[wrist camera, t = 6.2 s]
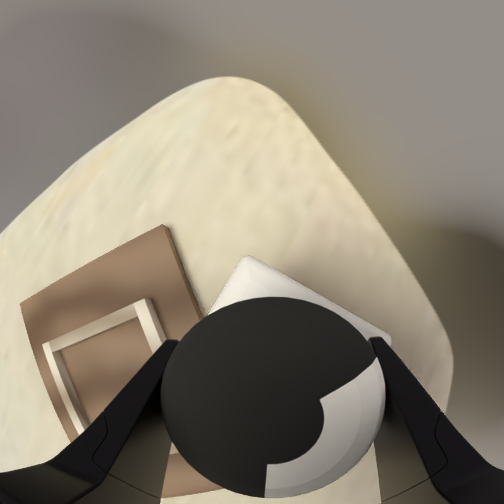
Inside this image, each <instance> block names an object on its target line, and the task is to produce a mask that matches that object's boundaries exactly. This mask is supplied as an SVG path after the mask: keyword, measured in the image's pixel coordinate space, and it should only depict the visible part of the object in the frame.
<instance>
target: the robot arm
mask: <svg viewBox="0 0 504 504" xmlns="http://www.w3.org/2000/svg"><path fill="white" fill-rule="evenodd" d="M179 342H180V341H179V340H178V339H167V340H165V341H164V342H163V344H162V345H161V346H160V347H159V348H158V349H157V350H156V351H155V353H154V354H153V355H152V356H151V357H150V358H149V359H148V360H147V362H146V363H145V364H144V365H143V366H142V367H141V368H140V369H139V371H138V372H137V373H136V374H135V375H134V376H133V377H132V378H131V380H130V381H129V382H128V383H127V384H126V385H125V386H124V387H123V389H122V390H121V391H120V392H119V393H118V394H117V395H116V396H115V398H114V399H113V400H112V401H111V402H110V403H109V404H108V405H107V407H106V408H105V409H104V411H102V412H101V413H100V414H99V416H98V417H97V418H96V419H95V420H94V421H93V422H92V423H91V424H90V425H89V426H88V427H87V428H86V429H85V430H84V431H83V432H82V433H81V434H80V435H79V436H78V437H77V438H76V439H75V440H74V441H72V442H71V443H70V444H69V445H68V446H67V447H66V448H65V449H63V450H62V451H61V452H60V453H59V454H58V455H57V456H55V457H54V458H52V459H51V460H49V461H47V462H45V463H42V464H38V465H34V466H30V467H26V468H22V469H18V470H13V471H8V472H2V473H0V504H160V501H161V500H160V499H161V495H162V490H163V484H164V479H165V474H166V469H167V464H168V459H169V454H170V449H171V445H172V441H171V439H170V436H169V434H168V432H167V430H166V427H165V423H164V420H163V416H162V409H161V385H162V379H163V374H164V371H165V368H166V365H167V363H168V360H169V358H170V356H171V354H172V352H173V351H174V349H175V347H176V346H177V344H178V343H179ZM368 343H369V344H370V346H371V347H372V349H373V351H374V353H375V354H376V356H377V358H378V361H379V364H380V366H381V369H382V373H383V377H384V382H385V396H386V400H385V409H384V415H383V419H382V422H381V426H380V428H379V431H378V433H377V435H376V438H375V440H374V446H375V453H376V461H377V468H378V476H379V485H380V494H381V504H504V471H503V470H501V469H498V468H496V467H494V466H492V465H491V464H489V463H488V462H487V461H486V460H485V459H484V458H483V457H482V456H481V455H480V454H479V453H478V452H477V451H476V450H475V449H474V448H473V447H472V446H471V445H470V444H469V443H468V442H467V441H466V439H465V438H464V437H463V436H462V435H461V434H460V433H459V432H458V431H457V430H456V429H455V427H454V426H453V425H452V424H451V422H450V421H449V420H448V419H447V417H446V416H445V415H444V413H443V412H442V411H441V410H440V408H439V407H438V406H437V404H436V403H435V402H434V401H433V399H432V398H431V397H430V395H429V394H428V393H427V392H426V390H425V389H424V388H423V387H422V385H421V384H420V383H419V382H418V380H417V379H416V378H415V377H414V375H413V374H412V373H411V372H410V370H409V369H408V368H407V367H406V366H405V364H404V363H403V362H402V361H401V359H400V358H399V357H398V356H397V355H396V353H395V352H394V351H393V350H392V349H391V347H390V346H389V345H388V344H387V343H386V341H385V340H384V339H383V338H382V337H380V336H375V337H370V338H369V339H368ZM440 411H441V412H440Z"/></svg>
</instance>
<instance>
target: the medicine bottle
mask: <svg viewBox="0 0 504 504" xmlns="http://www.w3.org/2000/svg"><path fill="white" fill-rule="evenodd" d="M375 336H380V337H382V338H383V339H384V340H385V341H386V343H387V344H388V345H389V346H391V343H392V340H391V337H390V336H389V335H388V334H387V333H385V332H384V331H382V330H380V329H378V328H377V327H375V326H373V325H371V324H370V323H368V322H366V321H364V320H363V319H361V318H359V317H357V316H356V315H354V314H352V313H350V312H349V311H347V310H345V309H343V308H342V307H340V306H338V305H336V304H335V303H333V302H331V301H329V300H328V299H326V298H324V297H322V296H321V295H319V294H317V293H316V292H314V291H312V290H310V289H309V288H307V287H305V286H303V285H302V284H300V283H298V282H296V281H295V280H293V279H291V278H289V277H288V276H286V275H284V274H283V273H281V272H279V271H277V270H276V269H274V268H272V267H270V266H269V265H267V264H265V263H263V262H262V261H260V260H258V259H257V258H255V257H253V256H249V255H248V256H244V257H243V258H242V259H241V260H240V261H239V263H238V265H237V266H236V268H235V270H234V271H233V273H232V275H231V276H230V278H229V280H228V281H227V283H226V285H225V286H224V288H223V290H222V291H221V293H220V295H219V296H218V298H217V300H216V301H215V303H214V305H213V307H212V308H211V310H210V312H209V313H208V315H207V316H206V317H205V318H203V319H202V320H201V321H199V322H198V323H197V324H195V325H194V326H193V327H192V328H191V329H190V330H189V331H188V332H187V333H186V334H185V335H184V336H183V338H182V339H181V340H180V342H179V343H178V344H177V346H176V347H175V349H174V351H173V352H172V354H171V356H170V358H169V360H168V363H167V365H166V368H165V371H164V374H163V379H162V385H161V409H162V416H163V420H164V423H165V427H166V430H167V432H168V434H169V436H170V439H171V441H172V442H173V444H174V446H175V447H176V449H177V450H178V452H179V453H180V455H181V456H182V457H183V458H184V459H185V461H186V462H187V463H188V464H189V465H190V466H191V467H192V468H193V469H195V470H196V471H197V472H198V473H199V474H201V475H202V476H203V477H205V478H206V479H208V480H209V481H211V482H213V483H215V484H217V485H218V486H220V487H222V488H225V489H227V490H230V491H233V492H235V493H239V494H243V495H247V496H252V497H261V498H284V497H292V496H297V495H301V494H305V493H309V492H312V491H315V490H317V489H320V488H322V487H324V486H326V485H328V484H330V483H332V482H334V481H336V480H337V479H338V478H340V477H341V476H343V475H344V474H346V473H347V472H348V471H349V470H350V469H351V468H353V467H354V466H355V465H356V464H357V463H358V462H359V461H360V460H361V458H362V457H363V456H364V455H365V454H366V452H367V451H368V449H369V448H370V446H371V445H372V443H373V441H374V440H375V438H376V435H377V433H378V431H379V428H380V426H381V422H382V419H383V415H384V409H385V400H386V396H385V382H384V377H383V373H382V369H381V366H380V364H379V361H378V358H377V356H376V354H375V353H374V351H373V349H372V347H371V346H370V344H369V343H368V339H369V338H370V337H375Z"/></svg>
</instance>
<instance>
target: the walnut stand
mask: <svg viewBox="0 0 504 504" xmlns="http://www.w3.org/2000/svg"><path fill="white" fill-rule="evenodd" d="M20 306H21V311H22V315H23V319H24V323H25V326H26V330H27V333H28V337H29V340H30V344H31V347H32V350H33V353H34V356H35V359H36V362H37V365H38V368H39V371H40V374H41V376H42V379H43V382H44V384H45V387H46V389H47V392H48V394H49V397H50V399H51V402H52V404H53V406H54V409H55V411H56V413H57V415H58V417H59V420H60V422H61V424H62V426H63V428H64V430H65V432H66V434H67V436H68V438H69V440H70V442H72V441H74V440H75V439H76V438H77V437H78V436H79V435H80V434H81V433H82V432H83V431H84V430H85V429H86V428H87V427H88V426H89V425H90V424H91V423H92V422H93V421H94V420H95V419H96V418H97V417H98V416H99V414H100V413H101V412H102V411H104V409H105V408H106V407H107V405H108V404H109V403H110V402H111V401H112V400H113V399H114V398H115V396H116V395H117V394H118V393H119V392H120V391H121V390H122V389H123V387H124V386H125V385H126V384H127V383H128V382H129V381H130V380H131V378H132V377H133V376H134V375H135V374H136V373H137V372H138V371H139V369H140V368H141V367H142V366H143V365H144V364H145V363H146V362H147V360H148V359H149V358H150V357H151V356H152V355H153V354H154V353H155V351H156V350H157V349H158V348H159V347H160V346H161V345H162V344H163V342H164V341H165V340H167V339H178V340H179V341H180V340H181V339H182V338H183V336H184V335H185V334H186V333H187V332H188V331H189V330H190V329H191V328H192V327H193V326H194V325H195V324H197V323H198V322H199V321H201V320H202V319H203V317H202V314H201V312H200V310H199V307H198V305H197V302H196V300H195V297H194V295H193V293H192V290H191V288H190V285H189V282H188V280H187V277H186V275H185V272H184V270H183V267H182V264H181V262H180V259H179V257H178V254H177V251H176V249H175V246H174V243H173V240H172V238H171V235H170V232H169V229H168V228H167V227H166V226H164V225H163V224H162V225H160V226H158V227H156V228H154V229H152V230H150V231H148V232H146V233H144V234H142V235H140V236H138V237H136V238H135V239H133V240H131V241H129V242H127V243H125V244H123V245H121V246H119V247H117V248H116V249H114V250H112V251H110V252H108V253H106V254H104V255H103V256H101V257H99V258H97V259H95V260H93V261H92V262H90V263H88V264H86V265H84V266H83V267H81V268H79V269H77V270H75V271H74V272H72V273H70V274H68V275H67V276H65V277H63V278H62V279H60V280H58V281H56V282H55V283H53V284H51V285H50V286H48V287H46V288H45V289H43V290H41V291H40V292H38V293H36V294H35V295H33V296H31V297H30V298H28V299H26V300H25V301H23V302H22V303H20ZM219 489H224V488H222V487H220V486H218V485H217V484H215V483H213V482H211V481H209V480H208V479H206V478H205V477H203V476H202V475H201V474H199V473H198V472H197V471H196V470H195V469H193V468H192V467H191V466H190V465H189V464H188V463H187V462H186V461H185V459H184V458H183V457H182V456H181V455H180V453H179V452H178V450H177V449H176V447H175V446H174V444H173V442H172V445H171V449H170V454H169V459H168V464H167V469H166V474H165V479H164V484H163V490H162V495H161V498H168V497H176V496H184V495H191V494H197V493H203V492H208V491H214V490H219Z"/></svg>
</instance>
